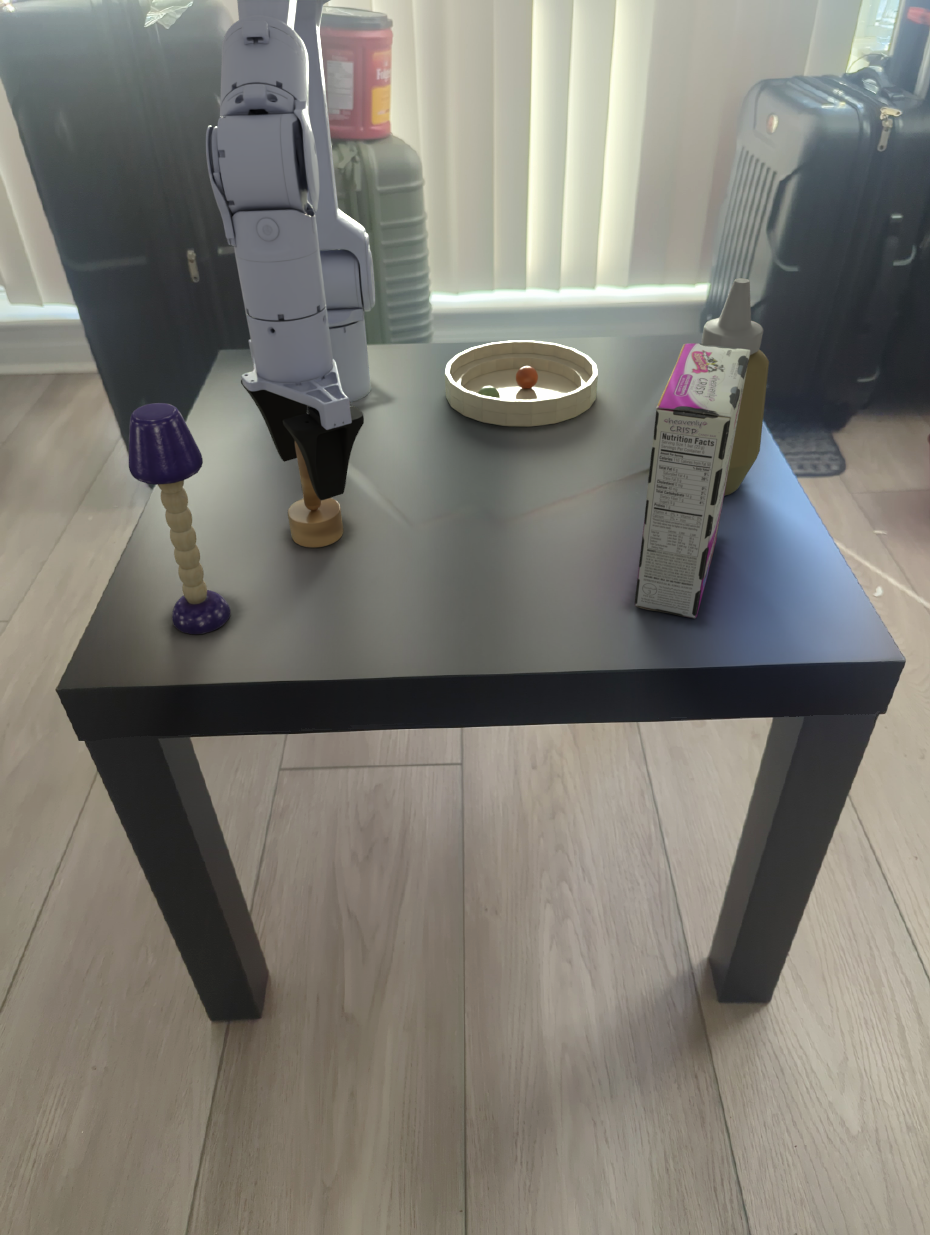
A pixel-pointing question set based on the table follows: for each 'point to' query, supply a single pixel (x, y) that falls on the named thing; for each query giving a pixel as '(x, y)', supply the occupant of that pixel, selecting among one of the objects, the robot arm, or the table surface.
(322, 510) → the wooden knob stamp
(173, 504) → the toy lamp
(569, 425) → the table surface
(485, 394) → the green bead
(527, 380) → the orange bead
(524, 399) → the bowl
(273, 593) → the table surface
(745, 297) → the squeeze bottle
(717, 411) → the candy bar box
